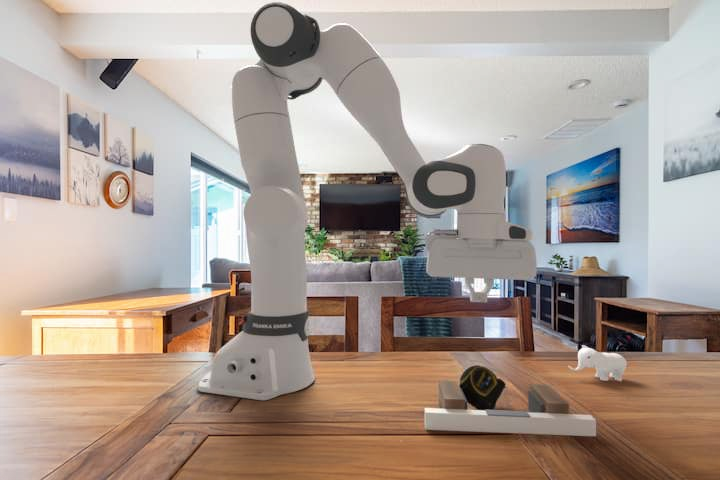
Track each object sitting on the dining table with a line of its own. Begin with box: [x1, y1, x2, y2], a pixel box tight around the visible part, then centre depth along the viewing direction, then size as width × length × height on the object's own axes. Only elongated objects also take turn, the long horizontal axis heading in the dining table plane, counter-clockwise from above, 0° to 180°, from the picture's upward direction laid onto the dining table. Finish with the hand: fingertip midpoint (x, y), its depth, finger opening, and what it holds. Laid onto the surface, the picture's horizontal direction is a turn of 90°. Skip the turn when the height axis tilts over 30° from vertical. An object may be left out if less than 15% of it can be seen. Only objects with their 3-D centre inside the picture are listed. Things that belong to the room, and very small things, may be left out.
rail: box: [424, 380, 597, 437], centre depth 57 cm, size 24×8×4 cm, turn 84°
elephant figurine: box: [567, 344, 628, 382], centre depth 74 cm, size 7×12×6 cm, turn 90°
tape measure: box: [458, 364, 507, 410], centre depth 61 cm, size 7×7×4 cm
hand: (478, 301), depth 70 cm, fingers closed
